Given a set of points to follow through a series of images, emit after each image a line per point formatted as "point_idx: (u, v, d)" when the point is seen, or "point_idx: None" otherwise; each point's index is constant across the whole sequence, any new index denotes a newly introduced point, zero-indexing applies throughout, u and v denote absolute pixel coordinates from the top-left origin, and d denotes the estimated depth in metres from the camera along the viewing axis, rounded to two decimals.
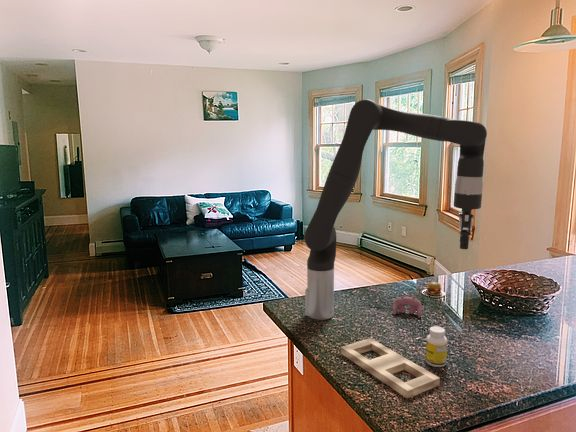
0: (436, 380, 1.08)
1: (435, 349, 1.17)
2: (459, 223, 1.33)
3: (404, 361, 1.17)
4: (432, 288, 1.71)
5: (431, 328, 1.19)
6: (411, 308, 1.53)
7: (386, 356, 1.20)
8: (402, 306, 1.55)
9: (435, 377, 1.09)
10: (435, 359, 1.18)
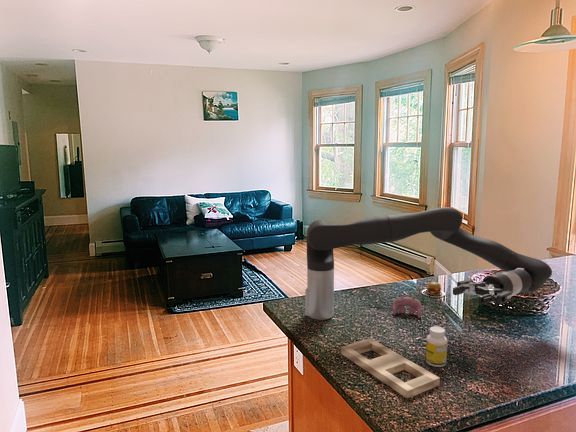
0: (436, 380, 1.08)
1: (435, 349, 1.17)
2: (473, 283, 1.28)
3: (404, 361, 1.17)
4: (432, 288, 1.71)
5: (431, 328, 1.19)
6: (411, 308, 1.53)
7: (386, 356, 1.20)
8: (402, 306, 1.54)
9: (435, 377, 1.09)
10: (435, 359, 1.18)
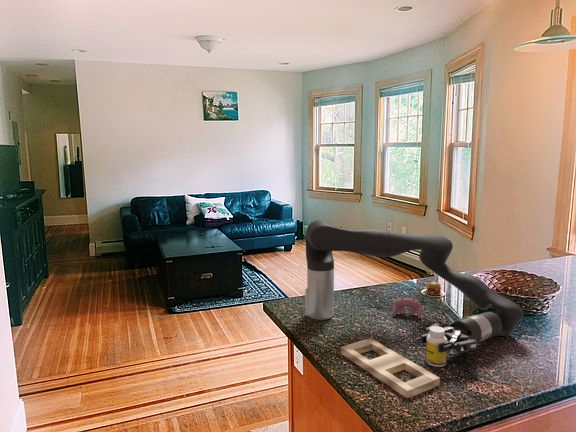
0: (436, 380, 1.08)
1: (435, 349, 1.17)
2: None
3: (404, 361, 1.17)
4: (432, 288, 1.71)
5: (431, 328, 1.19)
6: (411, 309, 1.52)
7: (386, 356, 1.20)
8: (402, 307, 1.53)
9: (435, 377, 1.09)
10: (435, 358, 1.18)
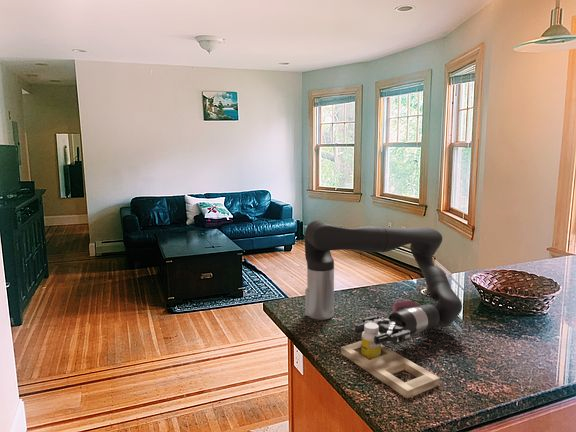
0: (436, 380, 1.08)
1: (369, 345, 1.20)
2: (376, 321, 1.26)
3: (404, 361, 1.17)
4: None
5: (366, 324, 1.22)
6: None
7: (386, 356, 1.20)
8: (402, 309, 1.52)
9: (435, 377, 1.09)
10: (369, 354, 1.20)
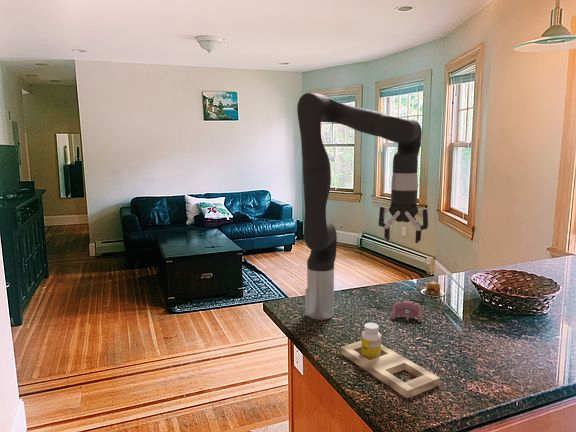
0: (436, 380, 1.08)
1: (369, 345, 1.20)
2: (393, 221, 1.31)
3: (404, 361, 1.17)
4: (432, 288, 1.71)
5: (366, 324, 1.22)
6: (411, 313, 1.50)
7: (386, 356, 1.20)
8: (402, 310, 1.51)
9: (435, 377, 1.09)
10: (369, 354, 1.20)
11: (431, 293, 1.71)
